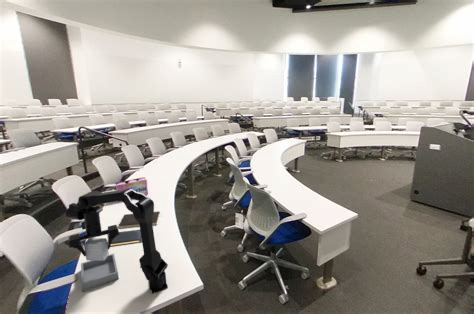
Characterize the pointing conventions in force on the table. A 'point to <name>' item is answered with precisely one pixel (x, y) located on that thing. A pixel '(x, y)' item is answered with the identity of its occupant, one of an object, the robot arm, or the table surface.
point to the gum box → (134, 185)
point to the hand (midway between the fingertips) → (97, 252)
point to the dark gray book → (127, 238)
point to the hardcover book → (130, 221)
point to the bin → (98, 272)
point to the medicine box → (96, 249)
